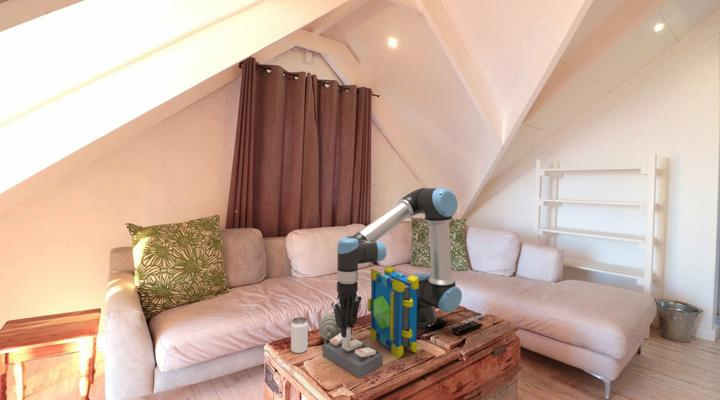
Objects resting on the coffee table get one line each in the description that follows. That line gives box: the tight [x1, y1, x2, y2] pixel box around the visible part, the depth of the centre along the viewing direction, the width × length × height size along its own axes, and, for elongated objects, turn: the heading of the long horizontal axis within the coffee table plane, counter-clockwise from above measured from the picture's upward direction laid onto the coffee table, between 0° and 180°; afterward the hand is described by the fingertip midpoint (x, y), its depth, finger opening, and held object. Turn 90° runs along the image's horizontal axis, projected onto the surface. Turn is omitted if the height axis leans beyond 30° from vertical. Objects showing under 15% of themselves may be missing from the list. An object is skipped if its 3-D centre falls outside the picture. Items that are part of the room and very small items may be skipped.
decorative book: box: [367, 265, 419, 360], centre depth 133 cm, size 14×23×30 cm, turn 29°
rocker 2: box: [342, 338, 363, 351], centre depth 122 cm, size 7×4×2 cm, turn 134°
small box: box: [355, 346, 377, 357], centre depth 117 cm, size 7×4×2 cm, turn 135°
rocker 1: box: [329, 333, 342, 346], centre depth 127 cm, size 7×4×2 cm, turn 134°
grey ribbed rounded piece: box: [318, 312, 341, 345], centre depth 136 cm, size 11×17×11 cm, turn 3°
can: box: [290, 316, 309, 354], centre depth 129 cm, size 6×6×12 cm
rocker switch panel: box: [322, 337, 384, 379], centre depth 122 cm, size 12×20×5 cm, turn 44°
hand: (346, 344), depth 120 cm, fingers closed
